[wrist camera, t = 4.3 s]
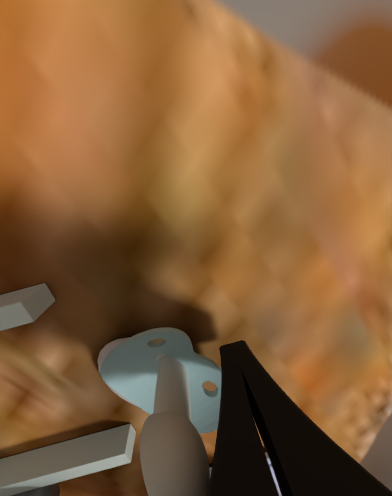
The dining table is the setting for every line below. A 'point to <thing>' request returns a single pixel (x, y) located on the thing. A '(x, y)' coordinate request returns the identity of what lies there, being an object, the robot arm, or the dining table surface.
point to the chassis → (65, 453)
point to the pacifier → (167, 405)
